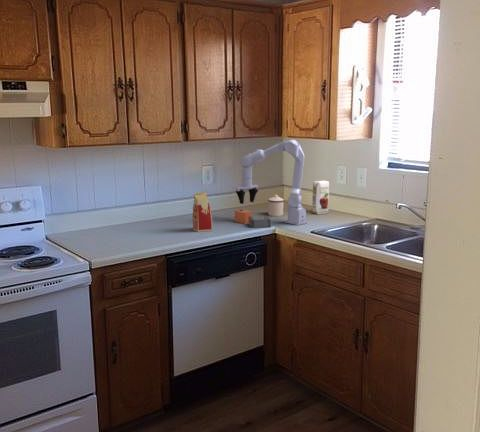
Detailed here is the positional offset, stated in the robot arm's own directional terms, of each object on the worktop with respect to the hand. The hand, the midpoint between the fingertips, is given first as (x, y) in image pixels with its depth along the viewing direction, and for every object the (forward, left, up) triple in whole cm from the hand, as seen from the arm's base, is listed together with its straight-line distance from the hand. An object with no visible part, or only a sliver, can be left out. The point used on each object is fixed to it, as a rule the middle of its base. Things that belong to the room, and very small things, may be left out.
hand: (246, 202), depth 289 cm
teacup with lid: (+1, -23, -10) cm, 25 cm away
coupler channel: (-14, +5, -10) cm, 18 cm away
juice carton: (-15, -45, -10) cm, 49 cm away
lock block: (-2, +4, -10) cm, 11 cm away
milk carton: (-1, +33, -10) cm, 34 cm away
